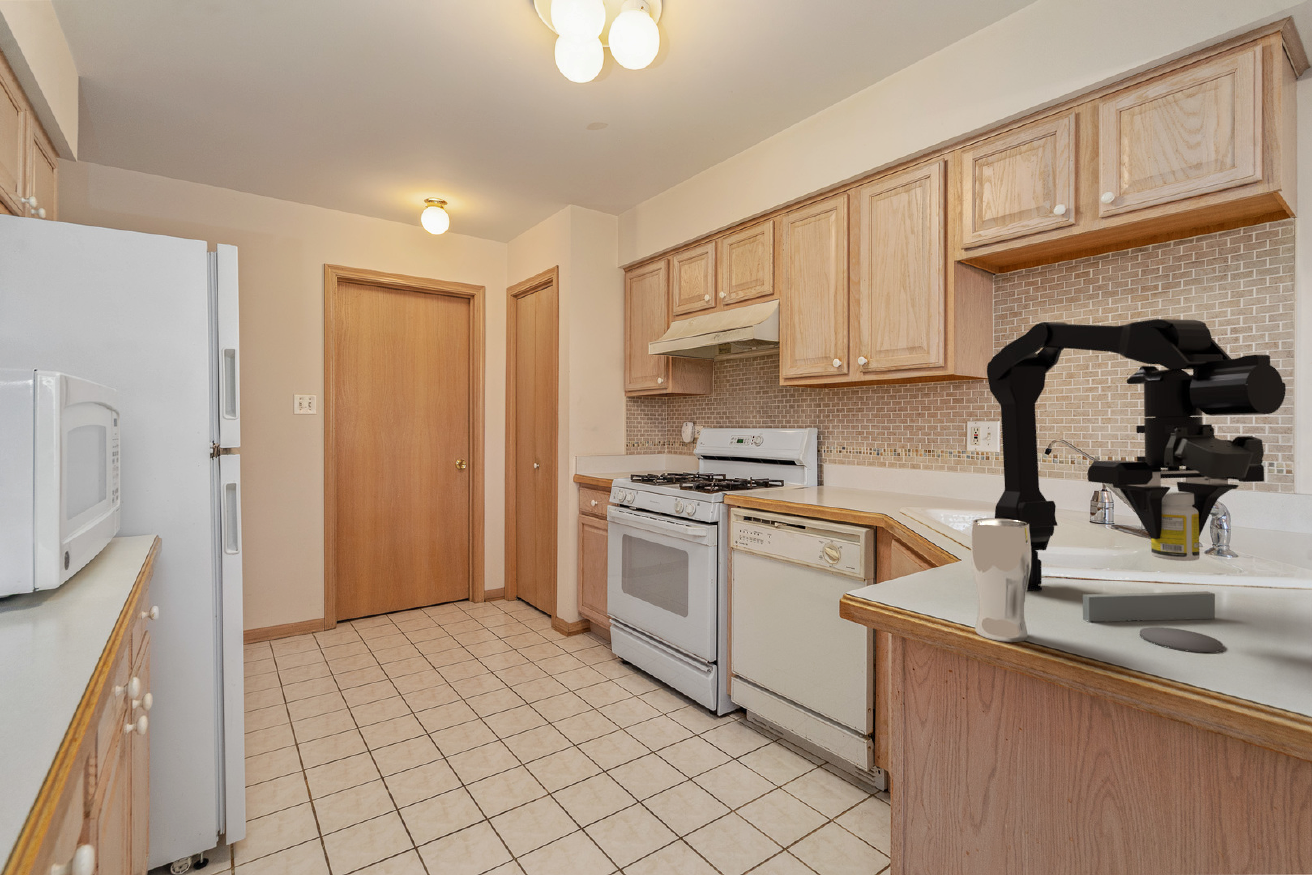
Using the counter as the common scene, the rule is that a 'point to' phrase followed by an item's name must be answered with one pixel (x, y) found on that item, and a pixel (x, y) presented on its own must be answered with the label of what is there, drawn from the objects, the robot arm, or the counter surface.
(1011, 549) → the beer glass
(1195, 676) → the counter surface
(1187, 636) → the coaster
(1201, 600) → the gray rectangular bar
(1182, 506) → the supplement bottle
